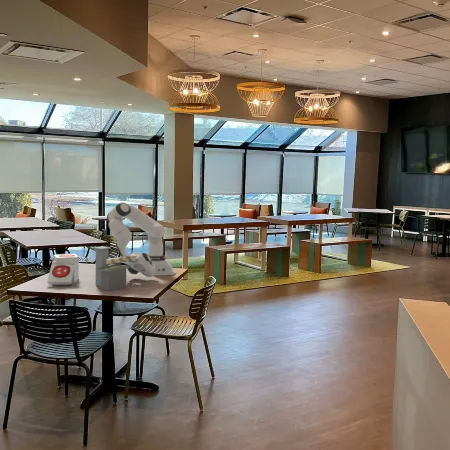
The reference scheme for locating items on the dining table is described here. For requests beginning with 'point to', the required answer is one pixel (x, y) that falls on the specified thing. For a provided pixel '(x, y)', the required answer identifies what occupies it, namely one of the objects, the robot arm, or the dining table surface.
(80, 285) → the dining table surface
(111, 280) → the box with lid
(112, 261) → the block
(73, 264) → the white box
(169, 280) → the dining table surface
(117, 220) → the robot arm
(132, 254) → the teacup with lid
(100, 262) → the plinth
